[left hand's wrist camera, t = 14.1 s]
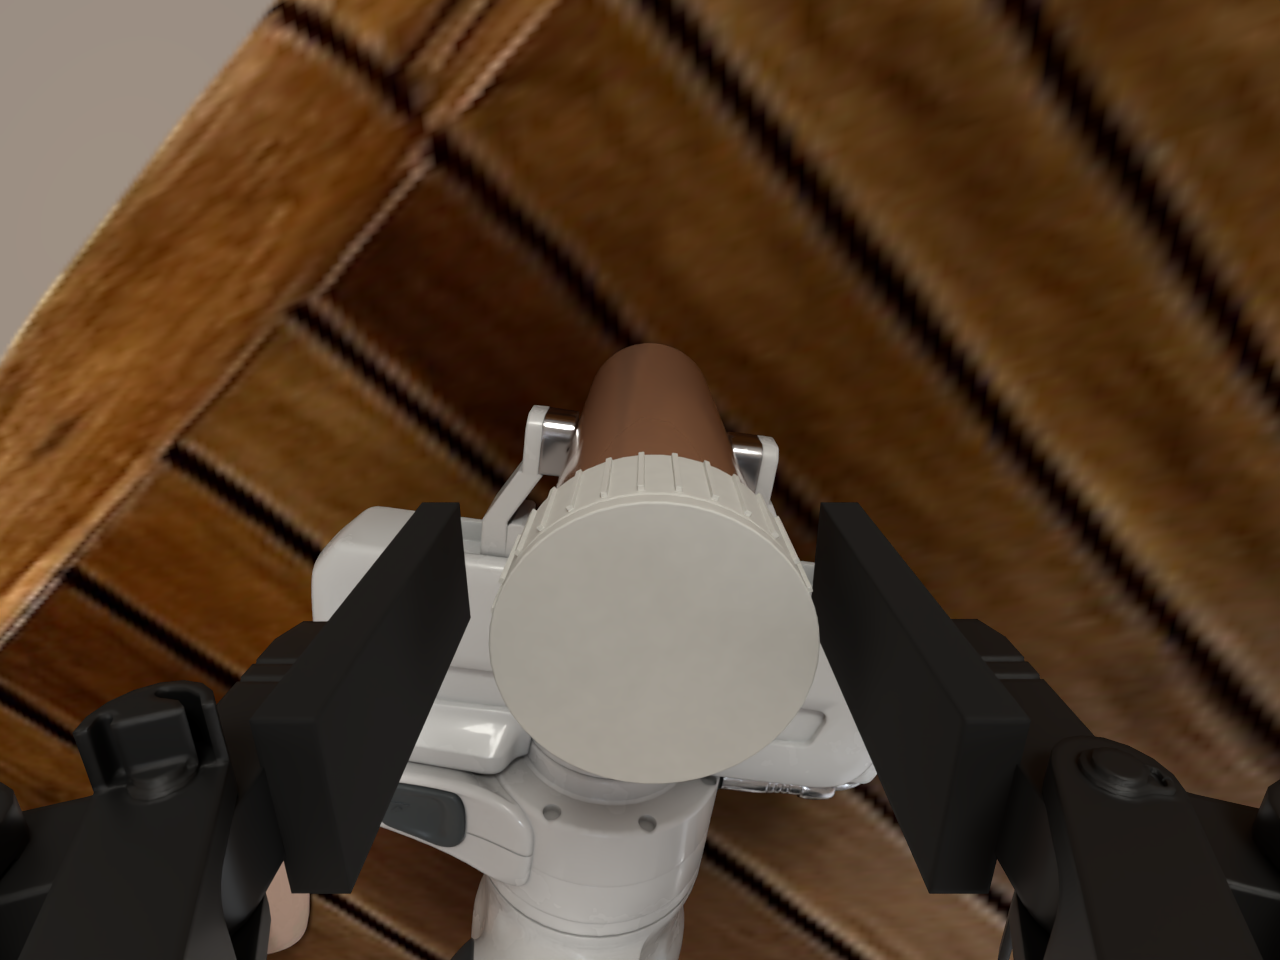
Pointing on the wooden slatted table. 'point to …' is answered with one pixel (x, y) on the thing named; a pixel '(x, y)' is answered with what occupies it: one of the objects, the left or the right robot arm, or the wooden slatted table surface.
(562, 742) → the lid
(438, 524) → the left robot arm
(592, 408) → the brown bottle
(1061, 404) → the wooden slatted table surface
